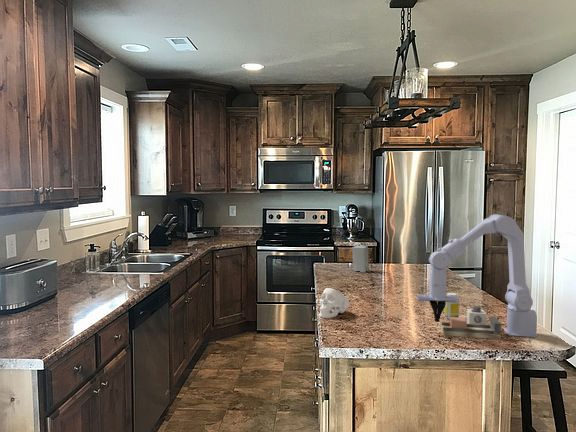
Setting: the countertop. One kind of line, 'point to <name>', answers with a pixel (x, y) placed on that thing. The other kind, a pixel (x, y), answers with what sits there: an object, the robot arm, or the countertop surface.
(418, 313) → the countertop surface
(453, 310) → the supplement bottle
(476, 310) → the button
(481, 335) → the rail bed
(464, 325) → the block
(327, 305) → the skull bowl
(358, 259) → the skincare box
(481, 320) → the gauge cabinet
